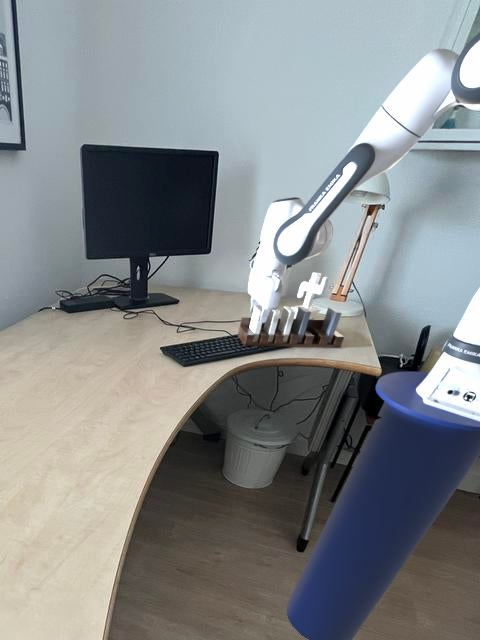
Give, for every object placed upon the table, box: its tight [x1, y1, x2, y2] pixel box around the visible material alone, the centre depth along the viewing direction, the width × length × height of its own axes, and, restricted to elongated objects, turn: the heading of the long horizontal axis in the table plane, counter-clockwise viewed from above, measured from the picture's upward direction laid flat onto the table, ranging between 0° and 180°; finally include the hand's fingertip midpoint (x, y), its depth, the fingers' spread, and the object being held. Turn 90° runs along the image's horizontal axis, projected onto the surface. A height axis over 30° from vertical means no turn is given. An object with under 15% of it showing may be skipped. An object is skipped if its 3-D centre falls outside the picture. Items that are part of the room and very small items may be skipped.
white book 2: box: [263, 308, 281, 342], centre depth 134 cm, size 6×2×9 cm, turn 0°
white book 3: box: [278, 305, 296, 342], centre depth 134 cm, size 6×2×9 cm, turn 0°
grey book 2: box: [321, 306, 342, 343], centre depth 135 cm, size 6×2×9 cm, turn 0°
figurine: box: [290, 271, 330, 319], centre depth 153 cm, size 7×9×15 cm
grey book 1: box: [292, 305, 311, 343], centre depth 134 cm, size 6×2×9 cm, turn 0°
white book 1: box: [249, 305, 263, 342], centre depth 134 cm, size 6×2×9 cm, turn 0°
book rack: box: [237, 317, 345, 349], centre depth 136 cm, size 9×30×6 cm, turn 90°
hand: (257, 317), depth 133 cm, fingers open, 8 cm apart
